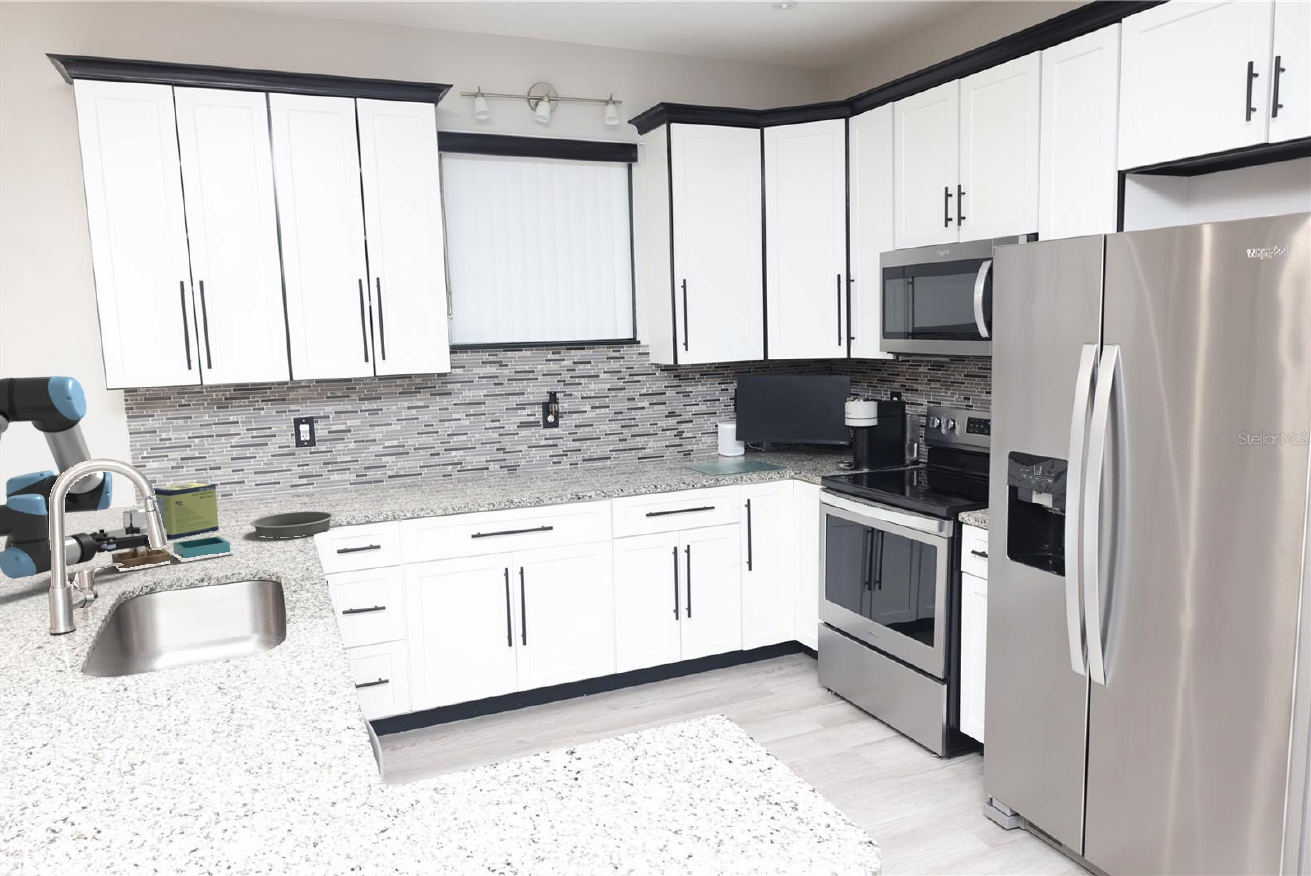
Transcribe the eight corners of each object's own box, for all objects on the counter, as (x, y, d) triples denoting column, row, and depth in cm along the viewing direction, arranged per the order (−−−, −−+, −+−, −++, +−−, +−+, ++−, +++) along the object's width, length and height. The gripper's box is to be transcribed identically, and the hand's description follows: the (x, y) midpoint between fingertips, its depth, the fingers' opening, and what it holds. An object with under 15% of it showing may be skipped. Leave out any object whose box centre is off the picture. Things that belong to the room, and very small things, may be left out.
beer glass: (144, 560, 237) (139, 507, 236) (162, 562, 235) (157, 508, 233) (121, 566, 231) (116, 512, 230) (139, 568, 228) (134, 513, 227)
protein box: (220, 530, 278) (216, 483, 276) (172, 540, 265) (168, 490, 263) (201, 527, 283) (197, 481, 282) (153, 536, 270) (149, 488, 268)
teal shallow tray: (181, 562, 234) (180, 550, 233) (171, 555, 243) (170, 542, 243) (232, 554, 242) (232, 542, 242) (221, 547, 252) (220, 535, 251)
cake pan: (234, 540, 263) (233, 526, 262) (280, 524, 287) (279, 511, 287) (309, 540, 260) (308, 526, 259) (348, 524, 284) (347, 511, 283)
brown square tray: (120, 572, 225) (119, 561, 224) (112, 564, 234) (111, 553, 233) (171, 564, 232) (170, 553, 232) (162, 556, 241) (161, 546, 241)
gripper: (38, 561, 219) (115, 543, 239) (108, 567, 211) (182, 548, 230) (35, 533, 218) (113, 517, 238) (105, 538, 210) (179, 521, 230)
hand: (147, 532), depth 234 cm, fingers open, 13 cm apart
